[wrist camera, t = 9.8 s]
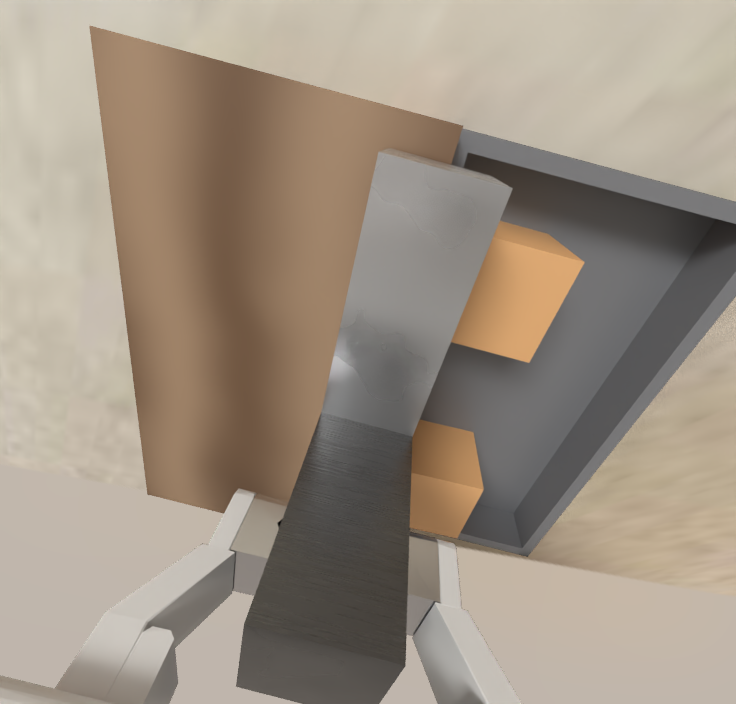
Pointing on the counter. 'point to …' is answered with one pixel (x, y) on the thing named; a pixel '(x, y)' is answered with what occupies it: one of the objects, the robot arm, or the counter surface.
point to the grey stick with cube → (369, 442)
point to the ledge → (235, 254)
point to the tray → (582, 331)
